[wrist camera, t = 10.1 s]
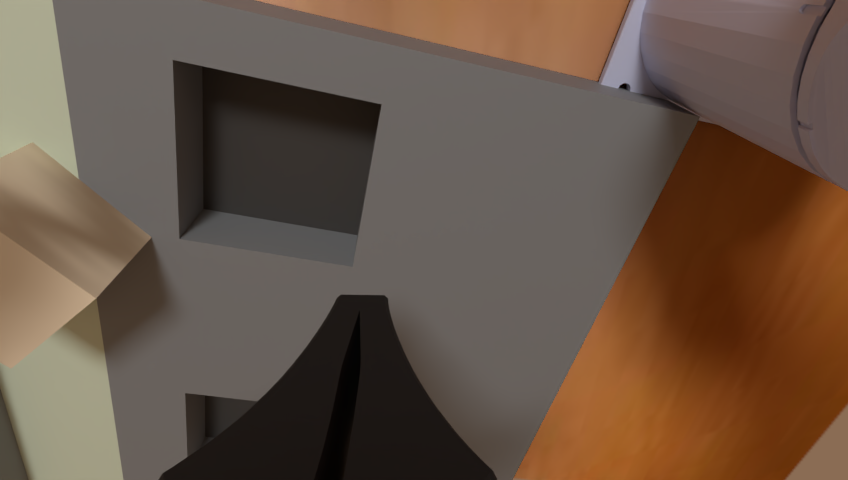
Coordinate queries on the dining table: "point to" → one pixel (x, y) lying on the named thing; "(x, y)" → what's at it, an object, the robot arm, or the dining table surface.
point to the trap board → (312, 219)
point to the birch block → (53, 249)
